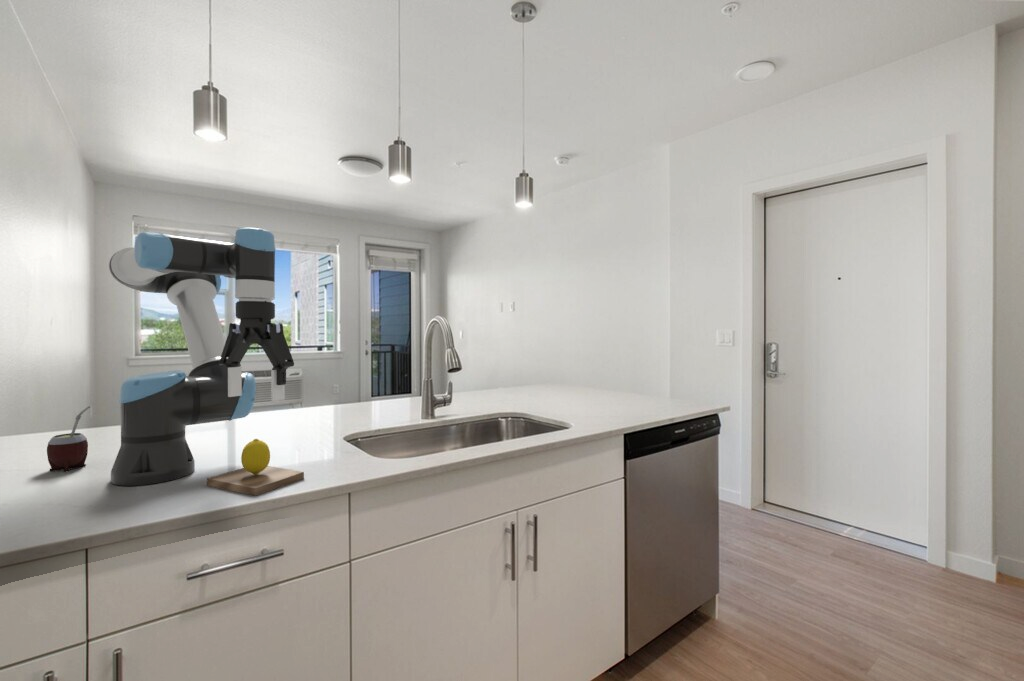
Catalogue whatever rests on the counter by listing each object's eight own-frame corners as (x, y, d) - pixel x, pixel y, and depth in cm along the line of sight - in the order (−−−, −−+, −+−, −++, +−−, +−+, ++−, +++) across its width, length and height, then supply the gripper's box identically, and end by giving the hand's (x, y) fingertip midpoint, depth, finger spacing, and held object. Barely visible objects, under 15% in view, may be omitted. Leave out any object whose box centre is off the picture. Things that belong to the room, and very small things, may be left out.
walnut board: (206, 485, 99) (206, 478, 99) (257, 470, 110) (257, 463, 110) (255, 495, 93) (255, 488, 93) (303, 478, 104) (303, 471, 104)
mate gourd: (50, 467, 111) (49, 405, 111) (94, 462, 116) (93, 402, 116) (44, 475, 106) (43, 409, 105) (90, 469, 110) (89, 406, 110)
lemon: (257, 480, 98) (257, 442, 98) (235, 478, 100) (235, 441, 99) (275, 472, 104) (275, 436, 104) (254, 470, 105) (254, 435, 105)
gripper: (311, 301, 99) (311, 399, 100) (233, 302, 109) (233, 392, 110) (281, 298, 93) (282, 404, 93) (201, 300, 103) (201, 396, 103)
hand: (255, 398), depth 101 cm, fingers open, 13 cm apart
